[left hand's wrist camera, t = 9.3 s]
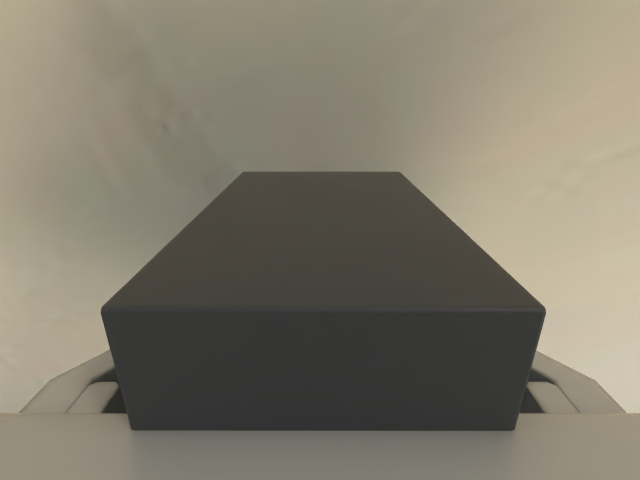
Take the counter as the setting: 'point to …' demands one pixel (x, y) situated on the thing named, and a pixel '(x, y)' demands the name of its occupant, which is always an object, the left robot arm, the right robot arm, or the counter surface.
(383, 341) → the bar
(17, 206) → the counter surface
